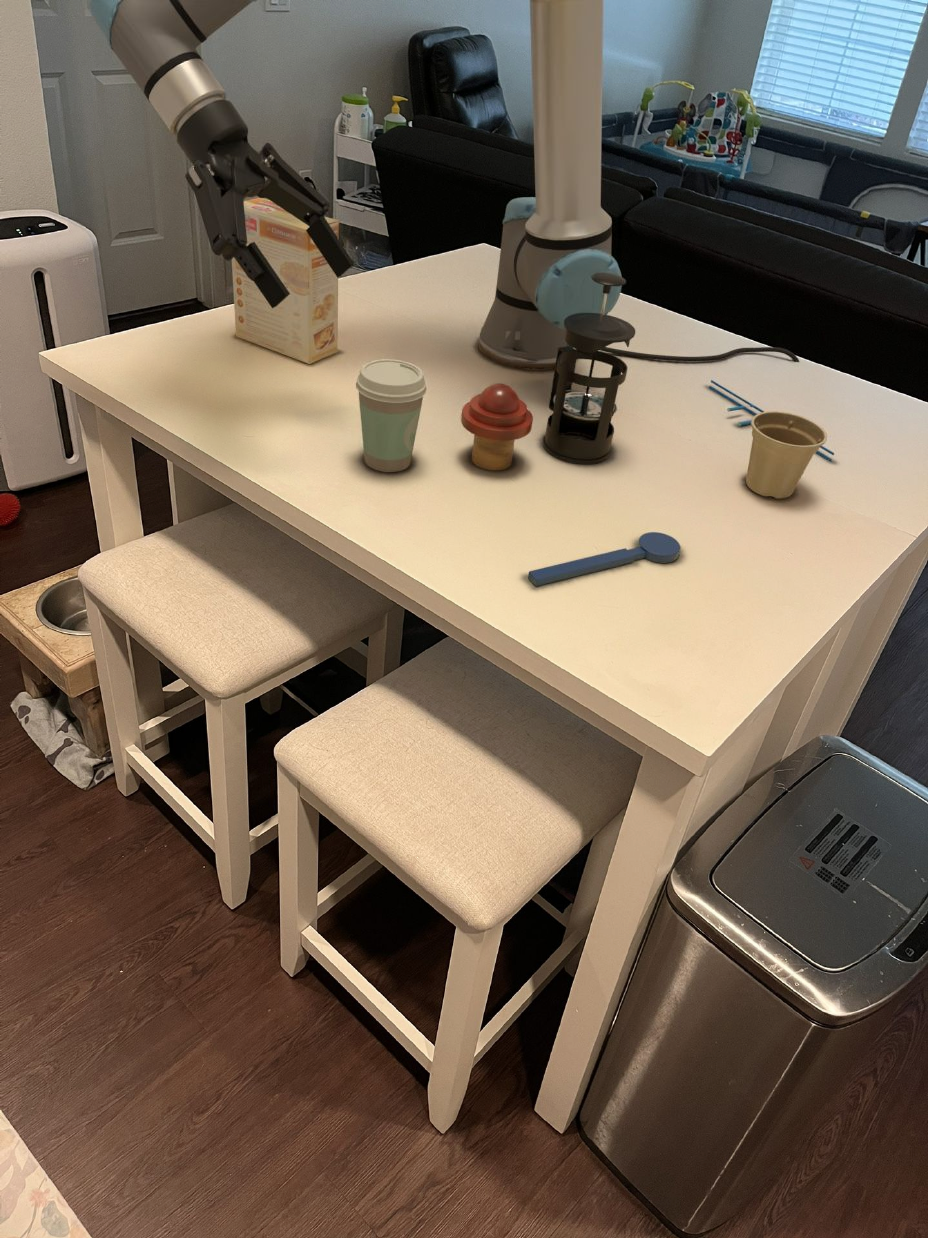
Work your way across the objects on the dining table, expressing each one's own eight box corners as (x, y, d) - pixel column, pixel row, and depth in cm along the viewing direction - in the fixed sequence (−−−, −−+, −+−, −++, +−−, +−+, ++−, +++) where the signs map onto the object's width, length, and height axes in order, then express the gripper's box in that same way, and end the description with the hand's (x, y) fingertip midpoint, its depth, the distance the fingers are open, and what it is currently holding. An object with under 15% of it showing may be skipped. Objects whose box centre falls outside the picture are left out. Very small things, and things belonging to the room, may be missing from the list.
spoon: (661, 536, 110) (663, 528, 109) (686, 558, 106) (689, 550, 106) (520, 569, 101) (521, 561, 101) (543, 594, 98) (544, 586, 97)
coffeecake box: (339, 352, 142) (341, 219, 130) (309, 365, 137) (308, 229, 125) (265, 324, 148) (260, 195, 136) (234, 336, 143) (226, 203, 131)
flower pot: (793, 514, 117) (816, 453, 111) (722, 489, 120) (741, 428, 115) (813, 485, 123) (835, 427, 118) (745, 462, 127) (764, 404, 121)
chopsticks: (809, 457, 126) (834, 452, 128) (687, 382, 142) (711, 379, 144) (805, 467, 127) (830, 461, 129) (685, 391, 143) (709, 387, 145)
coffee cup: (411, 483, 114) (418, 392, 106) (345, 470, 114) (346, 379, 107) (428, 451, 120) (435, 364, 113) (364, 439, 121) (367, 352, 114)
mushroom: (504, 439, 125) (514, 366, 118) (538, 471, 119) (551, 396, 113) (445, 449, 121) (452, 374, 115) (477, 482, 115) (487, 405, 109)
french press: (628, 459, 124) (667, 287, 110) (572, 472, 120) (605, 295, 105) (576, 420, 131) (607, 255, 117) (522, 431, 127) (547, 261, 113)
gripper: (250, 124, 115) (351, 275, 120) (105, 156, 96) (231, 333, 101) (285, 83, 110) (388, 242, 115) (140, 109, 92) (270, 296, 97)
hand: (315, 285), depth 108 cm, fingers open, 13 cm apart
